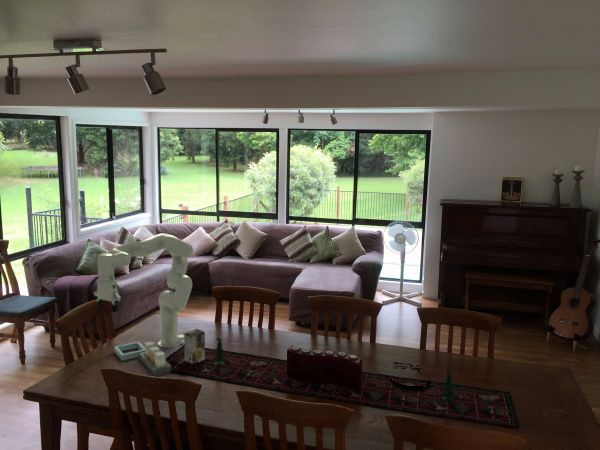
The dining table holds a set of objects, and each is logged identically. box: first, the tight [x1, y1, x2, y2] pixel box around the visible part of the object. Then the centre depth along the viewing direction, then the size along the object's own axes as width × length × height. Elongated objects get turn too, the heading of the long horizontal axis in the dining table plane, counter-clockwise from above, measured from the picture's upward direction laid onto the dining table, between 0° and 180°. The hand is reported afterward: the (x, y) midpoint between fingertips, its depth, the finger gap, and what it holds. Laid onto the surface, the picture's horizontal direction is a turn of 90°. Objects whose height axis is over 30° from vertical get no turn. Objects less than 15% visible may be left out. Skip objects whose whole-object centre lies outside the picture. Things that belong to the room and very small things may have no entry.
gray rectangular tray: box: [138, 352, 172, 377], centre depth 259 cm, size 8×23×4 cm, turn 36°
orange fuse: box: [149, 345, 161, 363], centre depth 258 cm, size 4×4×9 cm
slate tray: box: [114, 341, 145, 361], centre depth 272 cm, size 13×13×4 cm
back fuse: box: [144, 341, 156, 357], centre depth 264 cm, size 4×4×9 cm
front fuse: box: [155, 350, 166, 368], centre depth 252 cm, size 4×4×9 cm
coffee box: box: [183, 328, 206, 365], centre depth 266 cm, size 9×6×16 cm
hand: (107, 310), depth 256 cm, fingers open, 9 cm apart
